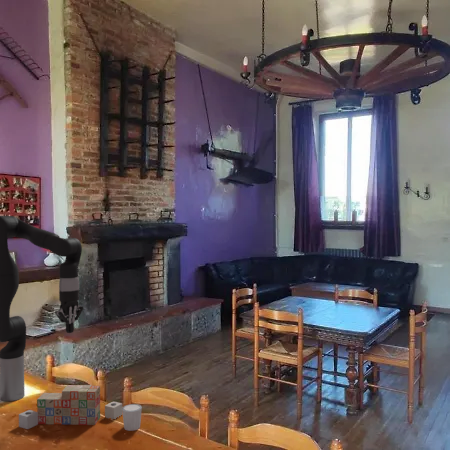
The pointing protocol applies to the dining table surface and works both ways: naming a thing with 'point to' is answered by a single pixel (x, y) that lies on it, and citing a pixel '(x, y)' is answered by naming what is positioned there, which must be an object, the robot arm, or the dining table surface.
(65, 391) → the stack of blocks
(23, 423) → the grey marked cube
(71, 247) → the robot arm
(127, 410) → the shot glass
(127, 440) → the dining table surface
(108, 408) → the ivory marked cube
